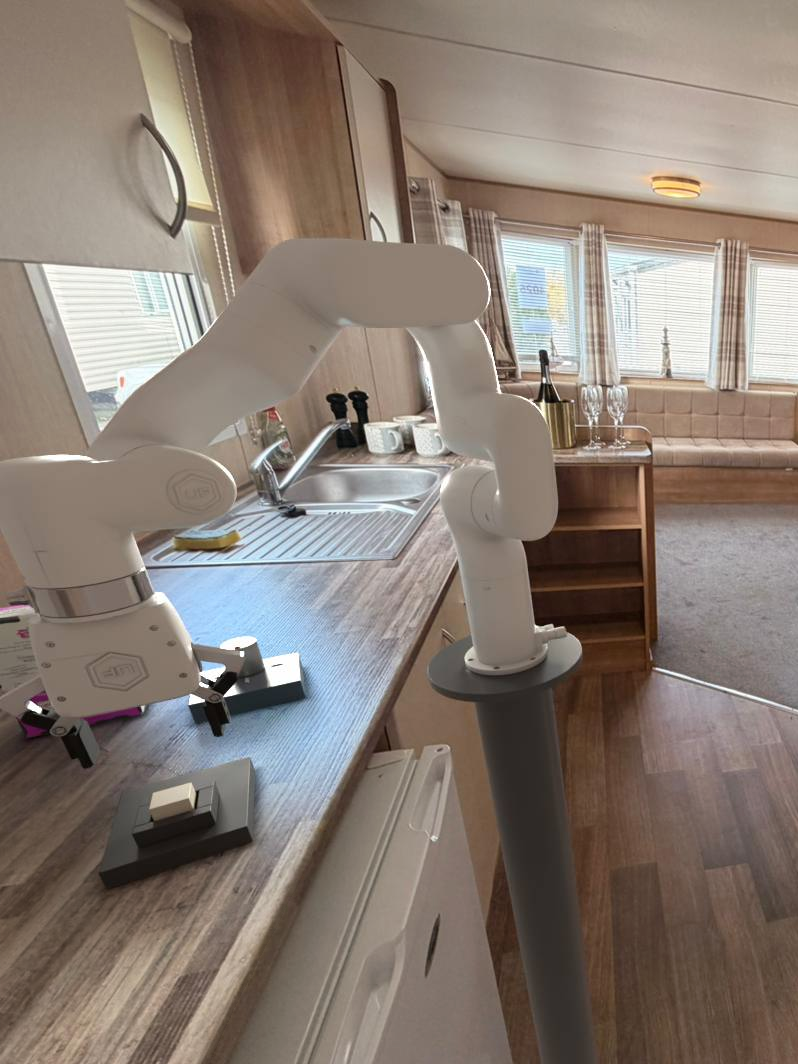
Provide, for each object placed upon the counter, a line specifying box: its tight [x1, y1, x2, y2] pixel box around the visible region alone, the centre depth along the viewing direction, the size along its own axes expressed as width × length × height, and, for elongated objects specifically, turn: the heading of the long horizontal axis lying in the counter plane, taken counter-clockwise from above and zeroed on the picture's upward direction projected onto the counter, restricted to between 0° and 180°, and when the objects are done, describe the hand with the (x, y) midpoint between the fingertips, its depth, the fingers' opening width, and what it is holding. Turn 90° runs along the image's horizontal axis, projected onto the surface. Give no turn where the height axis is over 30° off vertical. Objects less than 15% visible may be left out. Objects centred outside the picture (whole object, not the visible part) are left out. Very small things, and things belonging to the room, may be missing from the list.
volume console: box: [187, 652, 307, 725], centre depth 92 cm, size 12×11×3 cm
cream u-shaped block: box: [149, 783, 197, 821], centre depth 66 cm, size 3×3×2 cm
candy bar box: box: [0, 604, 148, 739], centre depth 82 cm, size 11×5×16 cm, turn 123°
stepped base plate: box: [98, 756, 256, 891], centre depth 68 cm, size 11×14×4 cm
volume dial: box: [219, 636, 265, 677], centre depth 92 cm, size 4×4×5 cm
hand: (159, 744), depth 66 cm, fingers open, 9 cm apart
